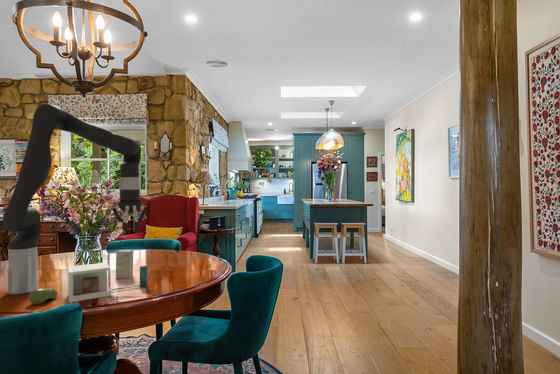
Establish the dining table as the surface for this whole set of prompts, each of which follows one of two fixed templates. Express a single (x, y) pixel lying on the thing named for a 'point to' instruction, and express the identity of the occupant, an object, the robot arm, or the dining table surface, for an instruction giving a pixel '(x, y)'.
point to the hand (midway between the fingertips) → (130, 231)
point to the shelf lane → (82, 272)
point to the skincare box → (124, 263)
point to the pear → (42, 295)
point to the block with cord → (93, 286)
